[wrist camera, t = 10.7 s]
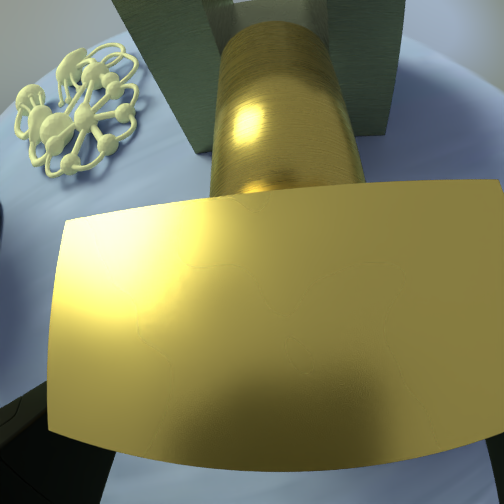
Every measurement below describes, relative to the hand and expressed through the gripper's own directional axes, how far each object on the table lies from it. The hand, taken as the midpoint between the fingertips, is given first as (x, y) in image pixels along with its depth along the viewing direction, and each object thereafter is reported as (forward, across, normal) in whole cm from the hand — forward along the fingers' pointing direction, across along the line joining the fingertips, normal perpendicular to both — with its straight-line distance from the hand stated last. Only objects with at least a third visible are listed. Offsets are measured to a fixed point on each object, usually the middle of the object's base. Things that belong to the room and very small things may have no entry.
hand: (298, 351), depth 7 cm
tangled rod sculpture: (+21, +19, -10) cm, 30 cm away
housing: (+17, 0, -7) cm, 19 cm away
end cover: (+8, 0, +2) cm, 8 cm away
